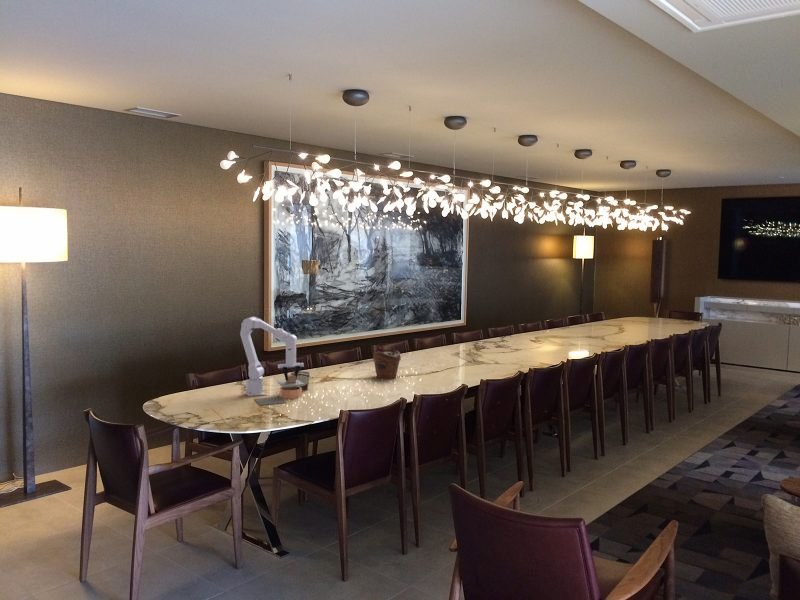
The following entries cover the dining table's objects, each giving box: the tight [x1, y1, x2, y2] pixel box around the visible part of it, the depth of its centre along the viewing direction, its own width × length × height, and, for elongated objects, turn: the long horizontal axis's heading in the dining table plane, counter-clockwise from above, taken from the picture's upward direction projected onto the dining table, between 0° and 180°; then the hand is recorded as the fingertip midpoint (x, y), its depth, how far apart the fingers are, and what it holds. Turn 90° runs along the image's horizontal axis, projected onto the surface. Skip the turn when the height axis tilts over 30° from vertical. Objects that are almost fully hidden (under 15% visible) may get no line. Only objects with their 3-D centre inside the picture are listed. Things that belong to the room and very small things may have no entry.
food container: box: [290, 370, 311, 391], centre depth 383 cm, size 12×6×10 cm, turn 74°
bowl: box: [279, 386, 303, 399], centre depth 365 cm, size 12×12×4 cm
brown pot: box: [372, 349, 402, 380], centre depth 420 cm, size 18×20×18 cm
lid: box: [277, 374, 304, 387], centre depth 364 cm, size 12×12×5 cm
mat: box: [253, 396, 287, 406], centre depth 352 cm, size 14×14×1 cm
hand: (290, 379), depth 364 cm, fingers closed on lid, 4 cm apart
